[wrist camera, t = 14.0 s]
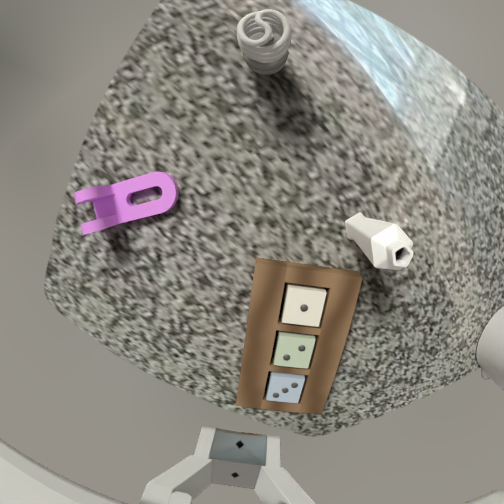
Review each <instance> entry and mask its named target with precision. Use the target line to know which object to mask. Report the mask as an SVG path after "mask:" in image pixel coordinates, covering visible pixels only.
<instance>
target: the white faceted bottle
mask: <svg viewBox="0 0 504 504" xmlns="http://www.w3.org/2000/svg"><path fill="white" fill-rule="evenodd" d="M345 226H346V232H347V238H348V239H349V240H354V241H355V242H356V243H357V245H358V246H359V247H360V248H361V250H362V251H363V252H364V254H365V255H366V256H367V257H368V259H369V260H370V261H371V263H372V264H373V265H374V267H376V268H384V269H394V270H400V269H401V268H402V267H407V266H408V264H409V262H410V260H411V258H412V256H413V251H412V250H411V248H412V246H413V242H412V241H411V240H410V239H409V238H408V236H407V235H406V234H405V233H404V232H403V231H402V230H401V228H400V227H399V226H398V225H397V224H394V223H389V222H384V221H380V220H375V219H370V218H366V217H365V216H364V215H363V214H362V213H358V214H356V215H355V216H353V217H351V218H349V219H348V220H346V221H345Z"/></svg>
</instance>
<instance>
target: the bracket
mask: <svg viewBox="0 0 504 504" xmlns="http://www.w3.org/2000/svg"><path fill="white" fill-rule="evenodd" d="M156 186H159V187H160V188H161V189H162V197H161V198H160V199H158V200H154V201H151V202H147V203H143V204H139V205H133V204H132V203H131V201H130V197H131V195H132V194H133V193H134V192H138V191H141V190H145V189H148V188H152V187H156ZM178 195H179V189H178V185H177V183H176V181H175V179H174V178H173V177H172V176H171V175H169V174H167V173H164V172H152V173H149V174H145V175H142V176H139V177H135V178H132V179H129V180H126V181H122V182H119V183H116V184H113V185H106V186H95V187H91V188H87V189H83V190H80V191H78V192H75V193H74V196H75V201H76V204H80V203H85V202H91V201H93V203H94V208H95V212H96V217H97V220H94V221H90V222H87V223H84V224H81V228H82V233H83V235H84V234H88V233H92V232H95V231H99V230H102V229H105V228H108V227H111V226H114V225H117V224H120V223H124V222H128V221H132V220H136V219H140V218H144V217H148V216H152V215H156V214H160V213H163V212H166V211H168V210H170V209H171V208H172V207H173V206H174V205H175V204H176V202H177V199H178Z"/></svg>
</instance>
